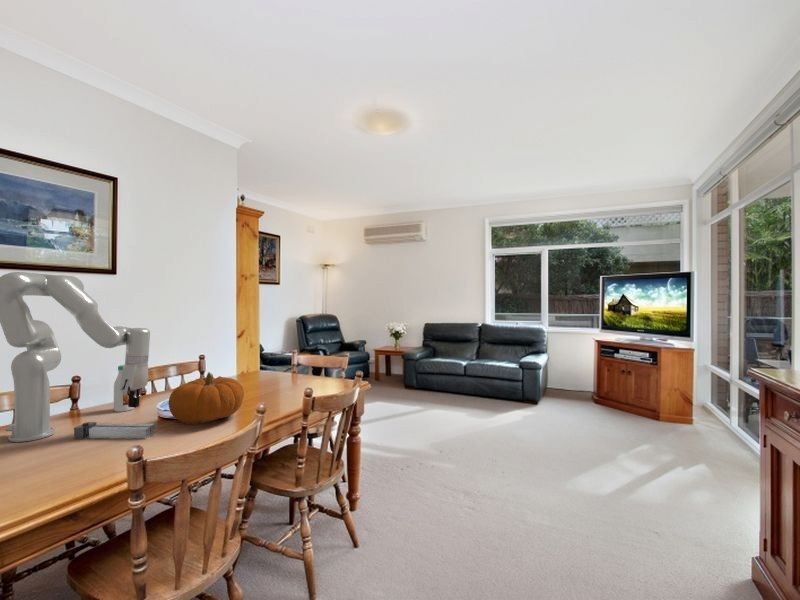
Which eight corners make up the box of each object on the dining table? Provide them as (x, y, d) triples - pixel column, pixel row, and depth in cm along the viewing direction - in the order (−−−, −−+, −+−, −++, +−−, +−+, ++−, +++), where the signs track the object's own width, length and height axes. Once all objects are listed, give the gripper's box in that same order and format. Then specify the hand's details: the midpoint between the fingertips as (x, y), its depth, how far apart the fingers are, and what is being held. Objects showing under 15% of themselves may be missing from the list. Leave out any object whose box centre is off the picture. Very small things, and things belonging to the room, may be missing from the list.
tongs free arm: (95, 434, 147) (95, 425, 147) (100, 432, 150) (100, 423, 150) (150, 435, 147) (150, 425, 147) (154, 433, 149) (154, 423, 149)
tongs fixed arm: (74, 438, 144) (74, 426, 144) (88, 432, 150) (88, 420, 150) (144, 439, 144) (144, 426, 144) (155, 433, 150) (155, 421, 150)
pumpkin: (237, 406, 186) (237, 364, 186) (250, 423, 163) (250, 374, 163) (167, 416, 171) (167, 369, 171) (170, 435, 148) (170, 381, 148)
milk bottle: (114, 413, 174) (114, 367, 174) (112, 409, 180) (112, 365, 180) (135, 410, 180) (135, 365, 179) (133, 406, 185) (133, 363, 185)
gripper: (139, 356, 163) (136, 401, 163) (113, 362, 148) (110, 411, 148) (158, 357, 163) (155, 402, 163) (133, 363, 148) (130, 412, 148)
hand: (133, 406), depth 155 cm, fingers closed
